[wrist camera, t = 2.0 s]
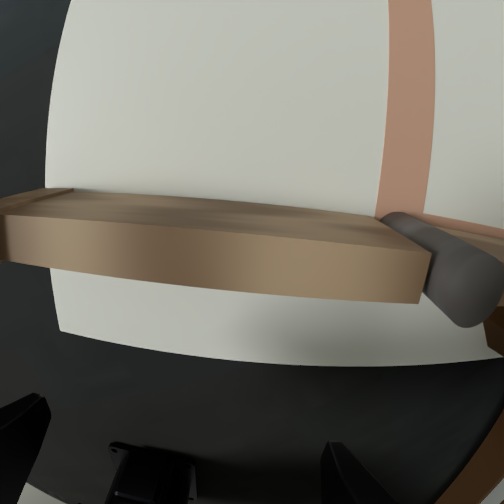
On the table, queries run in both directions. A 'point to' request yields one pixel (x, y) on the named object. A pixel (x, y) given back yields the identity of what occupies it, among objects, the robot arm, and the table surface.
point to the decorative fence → (493, 447)
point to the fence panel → (213, 244)
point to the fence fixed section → (457, 268)
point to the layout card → (281, 154)
